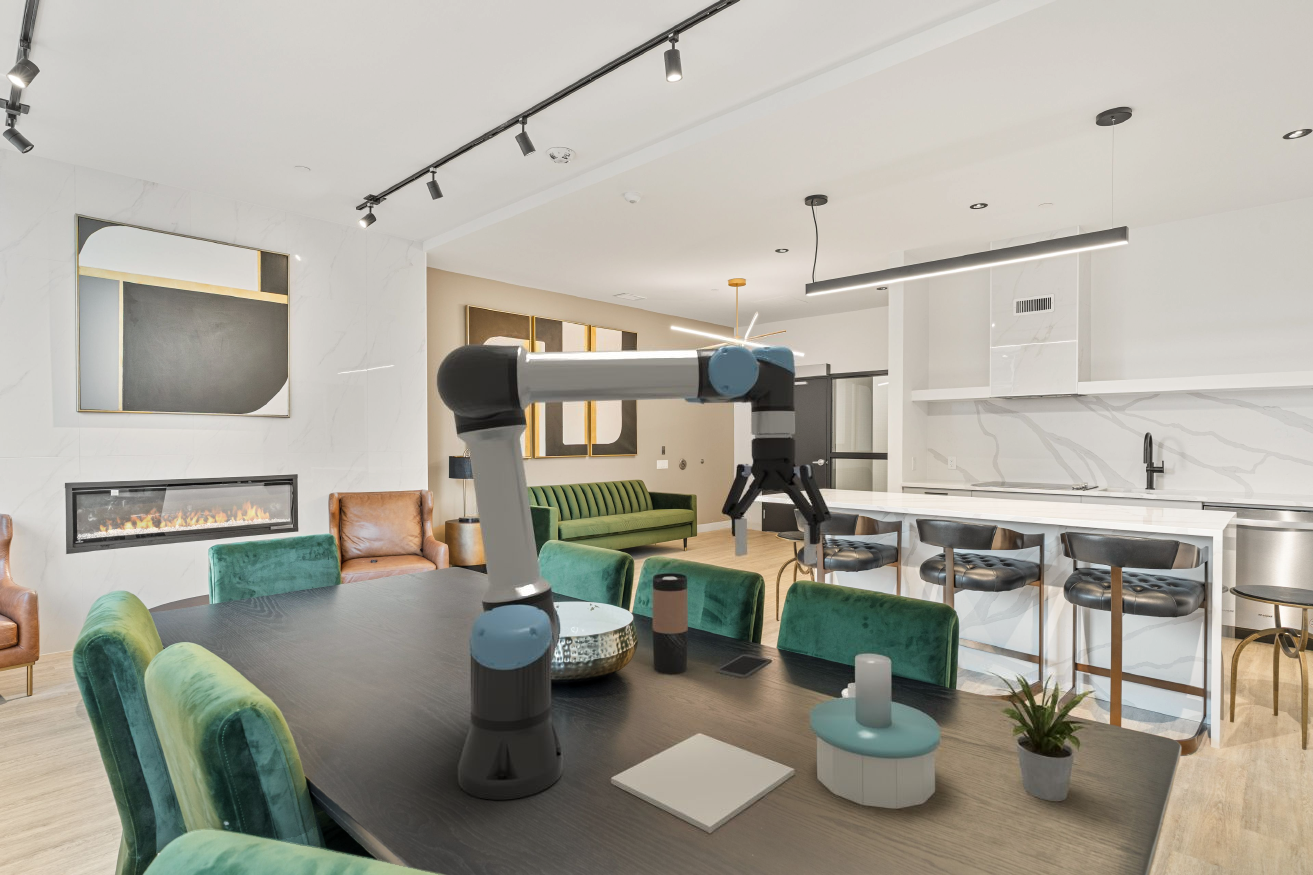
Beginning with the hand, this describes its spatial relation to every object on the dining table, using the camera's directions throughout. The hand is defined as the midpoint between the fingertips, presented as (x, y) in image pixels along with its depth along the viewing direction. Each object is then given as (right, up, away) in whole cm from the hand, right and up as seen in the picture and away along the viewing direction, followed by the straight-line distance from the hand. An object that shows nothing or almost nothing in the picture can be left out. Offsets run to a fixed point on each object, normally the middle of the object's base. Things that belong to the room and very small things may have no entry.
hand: (774, 559), depth 115 cm
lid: (+11, -21, -18) cm, 30 cm away
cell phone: (-1, -30, +30) cm, 42 cm away
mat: (-14, -29, -19) cm, 37 cm away
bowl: (+11, -28, -18) cm, 36 cm away
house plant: (+33, -29, -22) cm, 48 cm away
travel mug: (-17, -29, +29) cm, 45 cm away
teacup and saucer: (+19, -29, +10) cm, 36 cm away
